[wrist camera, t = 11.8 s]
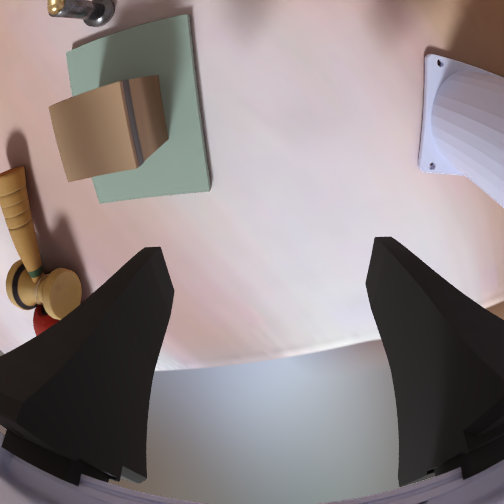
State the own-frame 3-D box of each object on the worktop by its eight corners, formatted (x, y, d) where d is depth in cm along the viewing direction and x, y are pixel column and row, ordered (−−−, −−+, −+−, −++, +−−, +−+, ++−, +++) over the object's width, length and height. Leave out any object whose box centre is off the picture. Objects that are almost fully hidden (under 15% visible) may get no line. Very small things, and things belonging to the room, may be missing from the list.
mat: (189, 15, 12) (186, 13, 11) (211, 187, 18) (209, 191, 18) (71, 52, 12) (66, 52, 12) (103, 199, 19) (99, 203, 18)
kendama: (-1, 170, 18) (51, 326, 27) (-42, 192, 13) (33, 366, 21) (62, 152, 19) (108, 325, 28) (22, 169, 14) (95, 370, 22)
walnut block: (158, 74, 13) (119, 80, 9) (168, 139, 16) (137, 169, 12) (97, 90, 14) (48, 106, 10) (110, 150, 16) (68, 182, 12)
